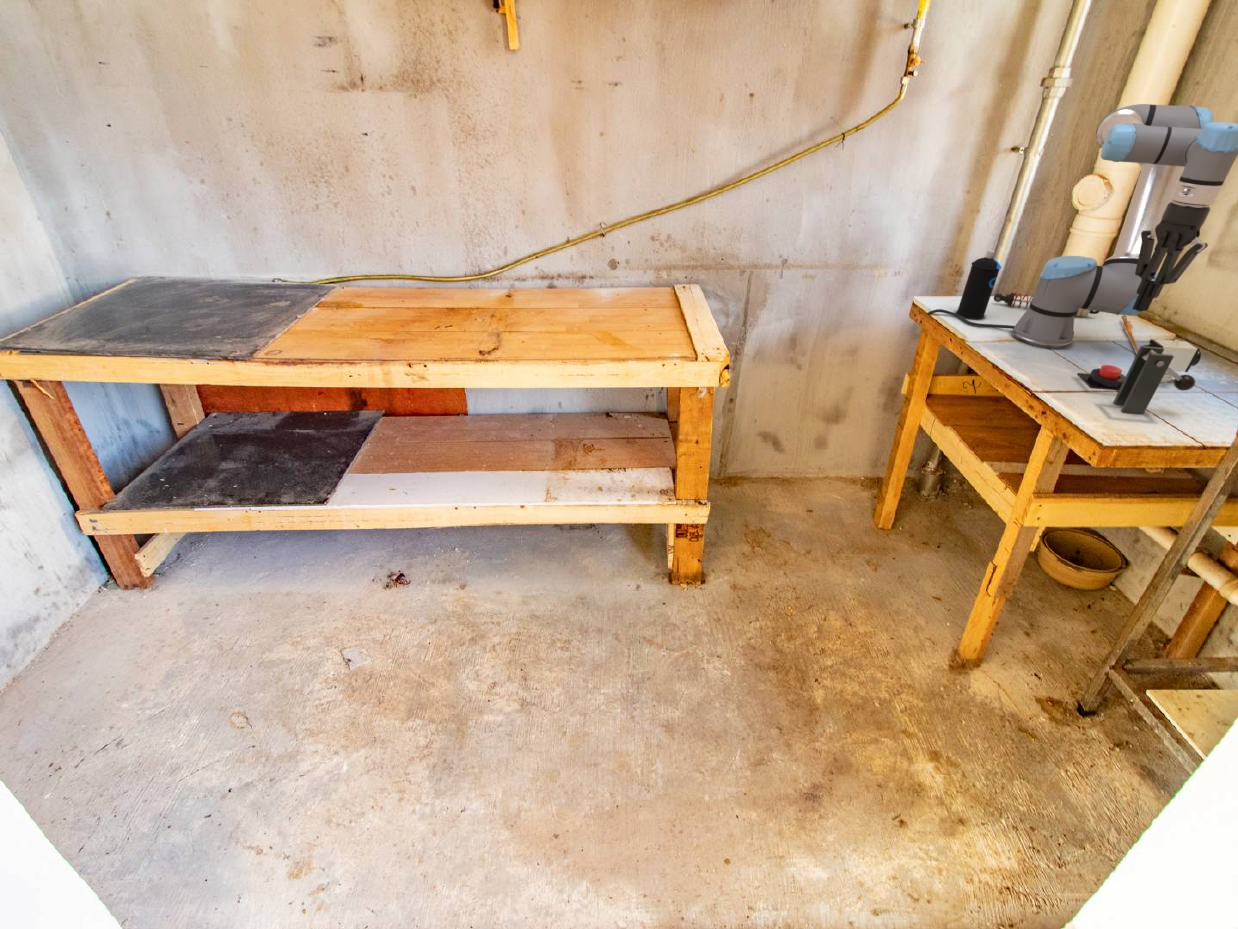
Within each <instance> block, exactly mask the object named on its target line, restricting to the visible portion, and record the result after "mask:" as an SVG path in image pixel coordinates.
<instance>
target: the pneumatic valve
mask: <svg viewBox="0 0 1238 929" xmlns="http://www.w3.org/2000/svg"><path fill="white" fill-rule="evenodd" d="M1143 346H1148V347H1161V348H1163V349H1164V351H1163V353H1162V354H1168V355H1172V356H1174V357H1173V359H1172V361H1171V363H1170V365H1169V368H1171V369H1172V370H1173V371H1174V372H1180V373H1181V372H1182V373H1188V372H1189V370H1190V369H1191V368H1192V367H1195V366H1196V365H1198V364H1199V362H1200V360H1201V357H1202V352H1201V349H1200V348H1199V347H1198V346H1196V345H1195V344H1193V343H1192V342H1190V341H1186V340H1185V341H1184V340H1182V341H1181V340H1180V339H1174V340H1172V339H1155V338H1154V339H1152V338H1150V340H1149V342H1148V343H1147V344H1144V345H1143ZM1172 378H1173V377H1172V376H1171V375H1170V374H1168V373H1167V372H1165V374H1164V376H1163V378H1162V380H1161V382H1160V383H1171V381H1172Z"/></svg>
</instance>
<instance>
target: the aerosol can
mask: <svg viewBox="0 0 1238 929" xmlns="http://www.w3.org/2000/svg"><path fill="white" fill-rule="evenodd" d="M994 254H995V250H990V249H989V250H987V251H986V255H985V256H984V257H980V258H977V259H975V260H974V261H972V262H971V267H970V270H969V274H968V277H967V280H966V283H965V286H964V289H963V293H962V295H961V298H960V302H959V304H958V305H959V306H958V308H957V310H956V311H955V313H956V314H959V315H961V316H963V317H964V318H965V319H966V320H973V321H974V320H976V321H977V320H978V321H979V320H983V319H984V318H985V315H986V314H985V313H986V310H987V308H988V305H989V302H990V299H991V296H992V293H993V290H994V287H995V284H996V282H997V279H998V276H999V273H1000V270H1001V269H1002V266H1001V265H1000V263H999V261H998V260H996V259H994Z"/></svg>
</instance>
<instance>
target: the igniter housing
mask: <svg viewBox="0 0 1238 929" xmlns="http://www.w3.org/2000/svg"><path fill="white" fill-rule="evenodd" d="M1099 370H1100V368H1098V367H1097V368H1094V369H1093V368H1092V370H1091V371H1090V373H1086V372H1085V373H1084V372H1077V374H1076V375H1077V376H1078V377H1079V378H1080V379H1081V380H1082V381H1083V382H1084V384H1086V385H1087V387H1088V388H1090V389H1095V390H1107V391H1117V392H1118V391H1119V389H1120V387H1121V385H1122V383H1123V381H1124V379H1125V377H1126V375H1125V374H1123V373H1121V375H1120V377H1119V379H1109V378H1105V377H1102V376H1100V375H1099V374H1098V372H1099Z"/></svg>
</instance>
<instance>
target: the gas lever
mask: <svg viewBox="0 0 1238 929" xmlns="http://www.w3.org/2000/svg"><path fill="white" fill-rule="evenodd" d="M1150 353H1155V354H1157V353H1156V352H1155V351H1153V350H1152V349H1151V350H1150V351H1149V352H1148V353H1146V354H1145V355H1144V356H1143V357H1142V358H1143V359H1144V360H1145V361H1146V360H1147V358H1148V356H1149V354H1150ZM1166 372H1167V373H1168V374H1170V375H1171V376H1172V378H1174V381H1173V385H1174V387H1175V388H1176V390H1178V391H1183V392H1185V391H1189V390H1191V389H1192V388H1194V386H1195V385H1196V379H1195V378H1194V377H1193V376H1192V375H1191V374H1181V375H1180V374H1179V373H1177V371H1173V370H1172V369H1171V368H1169V367H1168V369H1167V370H1166Z"/></svg>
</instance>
